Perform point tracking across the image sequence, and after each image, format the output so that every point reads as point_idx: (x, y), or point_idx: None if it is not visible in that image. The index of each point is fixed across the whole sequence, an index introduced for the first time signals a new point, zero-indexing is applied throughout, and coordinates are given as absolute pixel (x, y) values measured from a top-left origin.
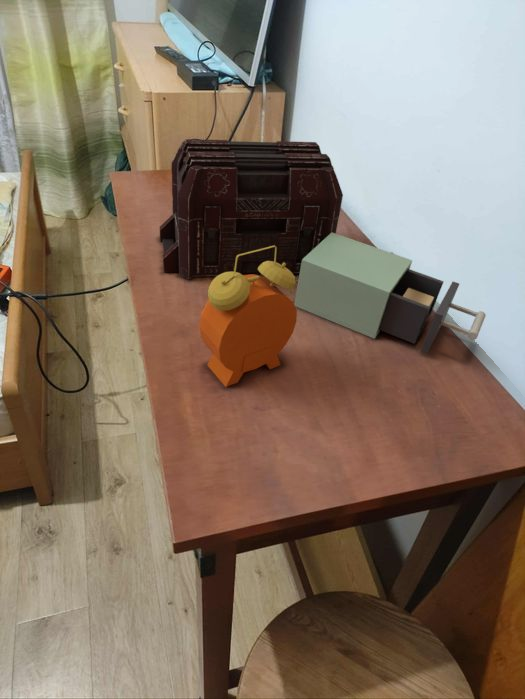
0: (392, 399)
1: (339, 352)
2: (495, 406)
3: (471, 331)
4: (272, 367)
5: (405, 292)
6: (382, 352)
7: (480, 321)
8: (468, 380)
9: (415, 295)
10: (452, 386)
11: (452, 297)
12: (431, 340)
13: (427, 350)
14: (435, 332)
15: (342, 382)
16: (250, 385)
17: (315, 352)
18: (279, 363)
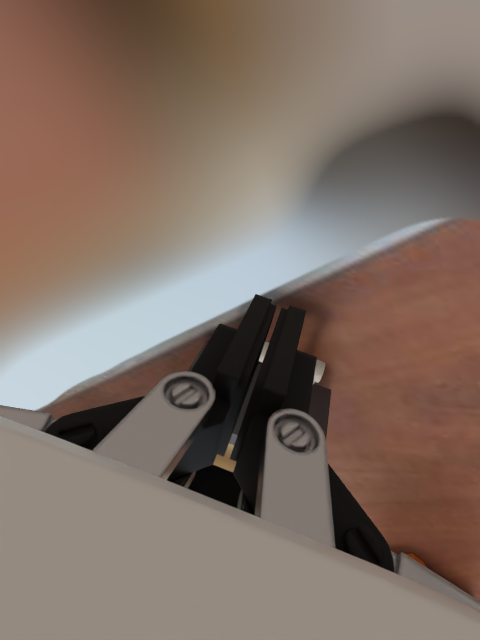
0: (471, 447)
1: (359, 492)
2: (468, 275)
3: (315, 381)
4: (421, 562)
5: (225, 469)
6: (339, 441)
7: (264, 355)
8: (384, 317)
9: (227, 456)
10: (412, 350)
11: (234, 434)
12: (328, 414)
13: (330, 395)
14: (326, 430)
15: (436, 499)
16: (463, 582)
17: (369, 516)
18: (414, 558)
